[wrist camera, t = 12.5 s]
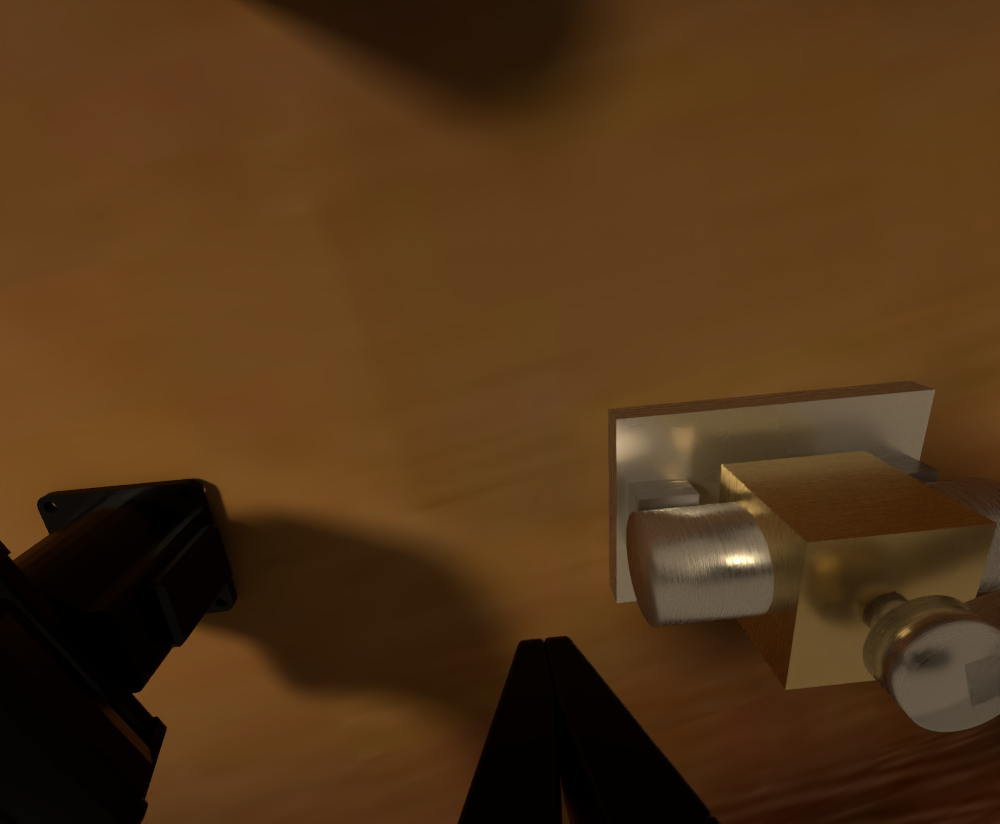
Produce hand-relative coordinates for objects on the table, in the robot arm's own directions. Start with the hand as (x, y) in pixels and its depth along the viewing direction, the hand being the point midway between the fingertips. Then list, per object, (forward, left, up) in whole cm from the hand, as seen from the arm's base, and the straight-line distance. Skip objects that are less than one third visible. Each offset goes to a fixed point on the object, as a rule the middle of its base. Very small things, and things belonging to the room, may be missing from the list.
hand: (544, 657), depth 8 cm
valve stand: (+11, -5, -13) cm, 18 cm away
